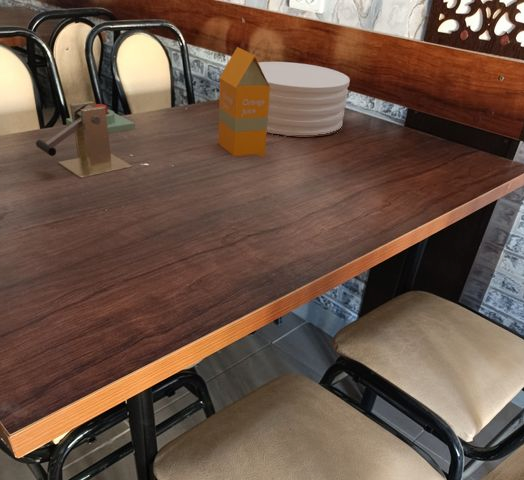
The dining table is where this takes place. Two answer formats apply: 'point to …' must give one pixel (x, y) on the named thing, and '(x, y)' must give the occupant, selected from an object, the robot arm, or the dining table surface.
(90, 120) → the bracket
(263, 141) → the orange juice
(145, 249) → the dining table surface
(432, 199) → the dining table surface
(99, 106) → the stop button
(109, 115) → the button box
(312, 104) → the plate stack
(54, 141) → the lever
